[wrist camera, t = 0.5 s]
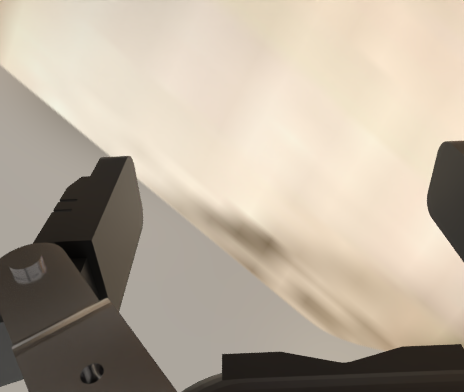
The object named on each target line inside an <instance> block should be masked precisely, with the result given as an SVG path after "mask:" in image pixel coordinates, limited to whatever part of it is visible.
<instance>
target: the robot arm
mask: <svg viewBox="0 0 464 392" xmlns="http://www.w3.org/2000/svg"><path fill="white" fill-rule="evenodd" d="M427 206H428V211H429V214H430V216H431V217H432V219H433V220H434V222H435V223H436V224H437V226H438V227H439V229H440V230H441V231H442V233H443V234H444V235H445V237H446V238H447V240H448V241H449V242H450V244H451V245H452V247H453V248H454V249H455V251H456V252H457V253H458V255H459V256H460V258H461V259H462V260H463V262H464V141H447V142H444V143H442V144H441V146H440V147H439V150H438V153H437V157H436V161H435V165H434V169H433V173H432V178H431V182H430V186H429V190H428V194H427ZM142 226H143V210H142V203H141V199H140V193H139V188H138V183H137V178H136V172H135V167H134V163H133V160H132V158H131V157H130V156H120V157H102V158H100V159H99V161H98V163H97V165H96V167H95V169H94V170H93V172H92V174H91V176H88V177H81V178H79V179H78V180H77V181H76V182H74V183H73V184H72V185H70V186H69V187H68V188H67V189H66V191H65V192H64V194H63V195H62V197H61V199H60V202H58V204H57V205H56V207H55V208H54V212H52V213H51V215H50V217H49V218H48V220H47V221H46V223H45V225H44V226H43V228H42V230H41V231H40V233H39V234H38V236H37V238H36V239H35V241H34V242H33V244H30V245H26V246H23V247H20V248H17V249H15V250H13V251H11V252H9V253H7V254H6V255H4V256H3V257H1V258H0V387H1V386H4V385H7V384H10V383H13V382H16V381H19V380H22V379H24V381H25V383H26V386H27V388H28V391H29V392H177V391H176V389H175V388H174V387H173V385H172V384H171V383H170V381H169V380H168V378H167V377H166V376H165V375H164V373H163V372H162V370H161V369H160V368H159V366H158V365H157V364H156V362H155V361H154V359H153V358H152V357H151V356H150V354H149V353H148V352H147V350H146V349H145V347H144V346H143V344H142V343H141V342H140V340H139V339H138V338H137V336H136V335H135V333H134V332H133V331H132V329H131V328H130V327H129V325H128V324H127V323H126V321H125V320H124V319H123V317H122V316H121V314H120V313H119V310H120V306H121V303H122V299H123V296H124V292H125V288H126V285H127V281H128V277H129V274H130V270H131V266H132V263H133V260H134V256H135V252H136V249H137V245H138V241H139V238H140V234H141V231H142ZM182 392H464V349H463V347H462V345H461V344H455V345H431V346H407V347H399V348H396V349H393V350H389V351H386V352H382V353H379V354H376V355H372V356H369V357H366V358H362V359H359V360H355V361H352V362H347V363H341V362H334V361H328V360H323V359H318V358H312V357H307V356H301V355H295V354H290V353H284V352H265V353H240V354H222V373H220V374H217V375H214V376H211V377H208V378H206V379H204V380H201V381H199V382H197V383H195V384H193V385H192V386H190V387H188V388H186V389H185V390H184V391H182Z"/></svg>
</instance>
